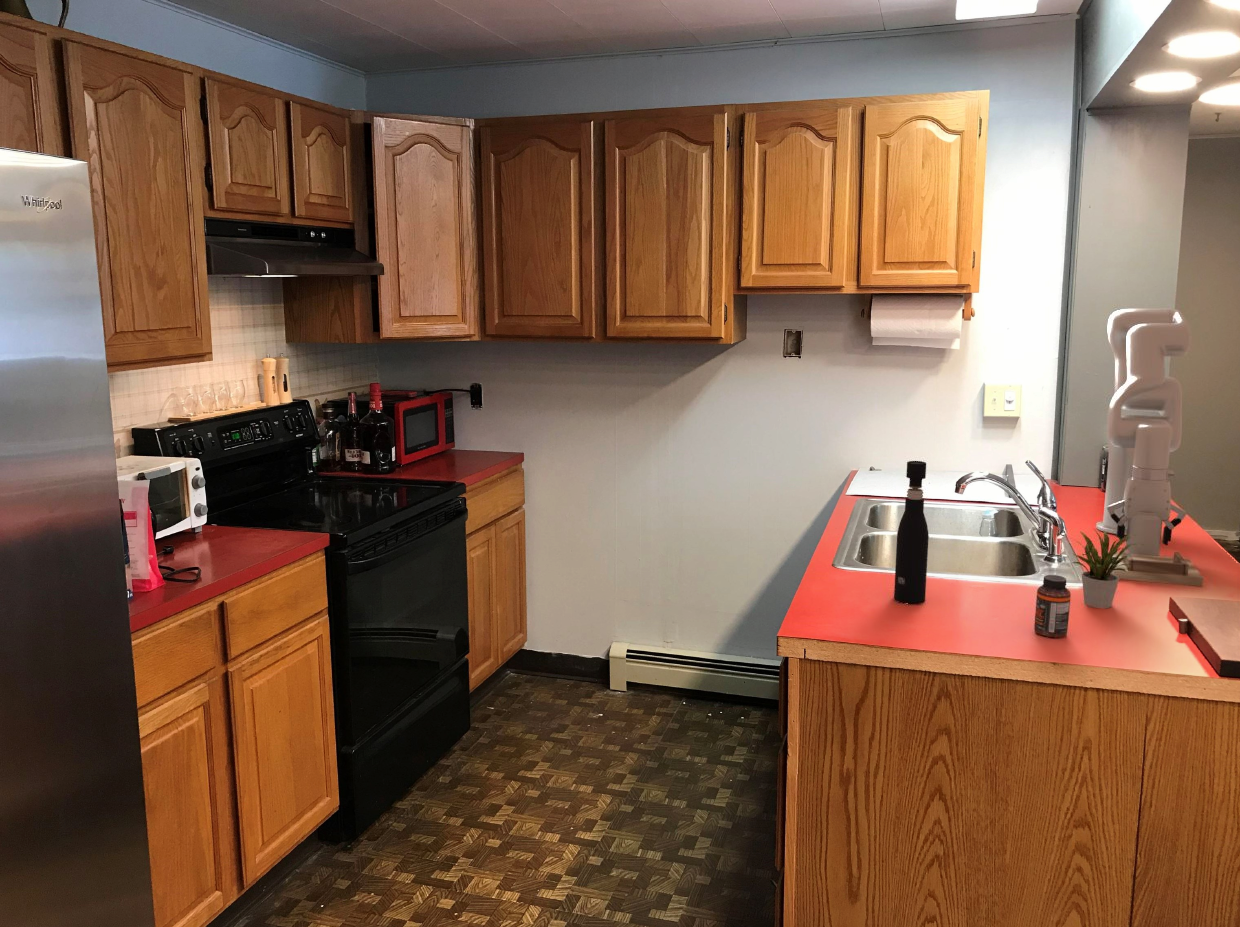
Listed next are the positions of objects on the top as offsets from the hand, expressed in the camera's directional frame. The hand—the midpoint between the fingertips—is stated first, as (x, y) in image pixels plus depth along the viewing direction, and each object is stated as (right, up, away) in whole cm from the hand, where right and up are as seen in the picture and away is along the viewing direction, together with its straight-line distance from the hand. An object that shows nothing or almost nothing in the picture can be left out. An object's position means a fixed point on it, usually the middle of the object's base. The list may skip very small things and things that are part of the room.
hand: (1142, 542), depth 239 cm
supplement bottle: (-46, -14, -51) cm, 70 cm away
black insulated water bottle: (-67, -10, -31) cm, 74 cm away
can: (0, -4, +1) cm, 4 cm away
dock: (-5, -6, -12) cm, 14 cm away
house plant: (-27, -11, -35) cm, 45 cm away
